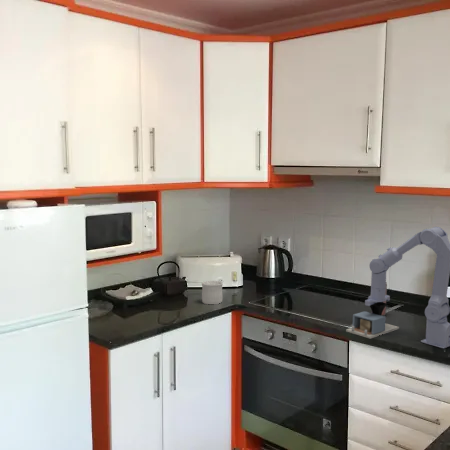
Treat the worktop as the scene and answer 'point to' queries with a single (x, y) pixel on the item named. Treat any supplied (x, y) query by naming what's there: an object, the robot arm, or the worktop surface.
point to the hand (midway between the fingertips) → (376, 320)
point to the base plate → (369, 334)
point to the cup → (212, 292)
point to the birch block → (365, 325)
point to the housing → (377, 320)
